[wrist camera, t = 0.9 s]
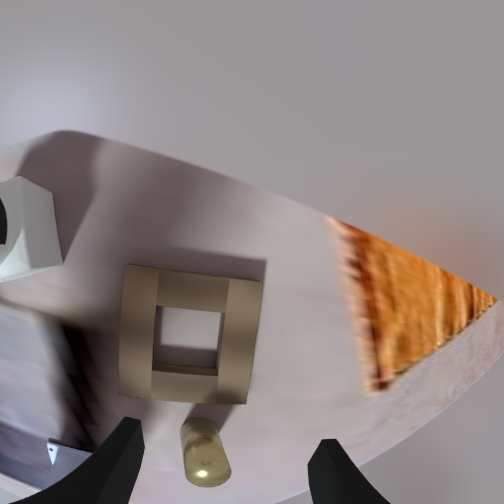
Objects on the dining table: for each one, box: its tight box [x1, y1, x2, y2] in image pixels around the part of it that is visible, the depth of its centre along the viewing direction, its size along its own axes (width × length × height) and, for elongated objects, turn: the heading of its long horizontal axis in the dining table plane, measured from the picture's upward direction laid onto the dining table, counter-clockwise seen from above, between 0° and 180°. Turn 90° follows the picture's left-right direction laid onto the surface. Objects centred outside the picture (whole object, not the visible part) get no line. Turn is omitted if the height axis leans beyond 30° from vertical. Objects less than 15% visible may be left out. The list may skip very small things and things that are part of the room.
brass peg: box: [180, 418, 231, 487], centre depth 22 cm, size 4×4×7 cm
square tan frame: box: [119, 264, 263, 404], centre depth 24 cm, size 12×12×2 cm
